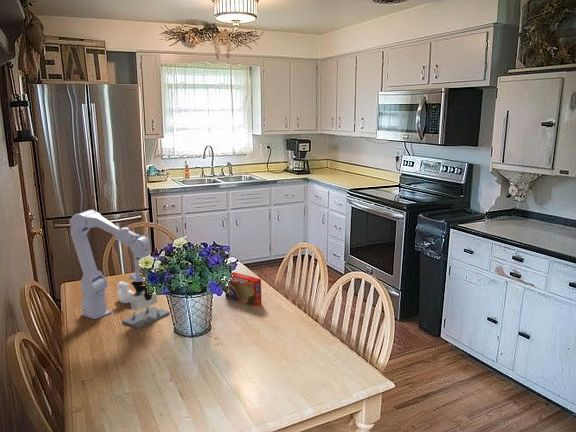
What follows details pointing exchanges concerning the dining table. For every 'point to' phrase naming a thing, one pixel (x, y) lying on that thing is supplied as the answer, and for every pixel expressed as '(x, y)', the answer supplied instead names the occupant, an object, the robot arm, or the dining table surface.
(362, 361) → the dining table surface
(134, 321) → the pin tray
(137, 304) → the block
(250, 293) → the toy box
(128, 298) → the bust
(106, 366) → the dining table surface
